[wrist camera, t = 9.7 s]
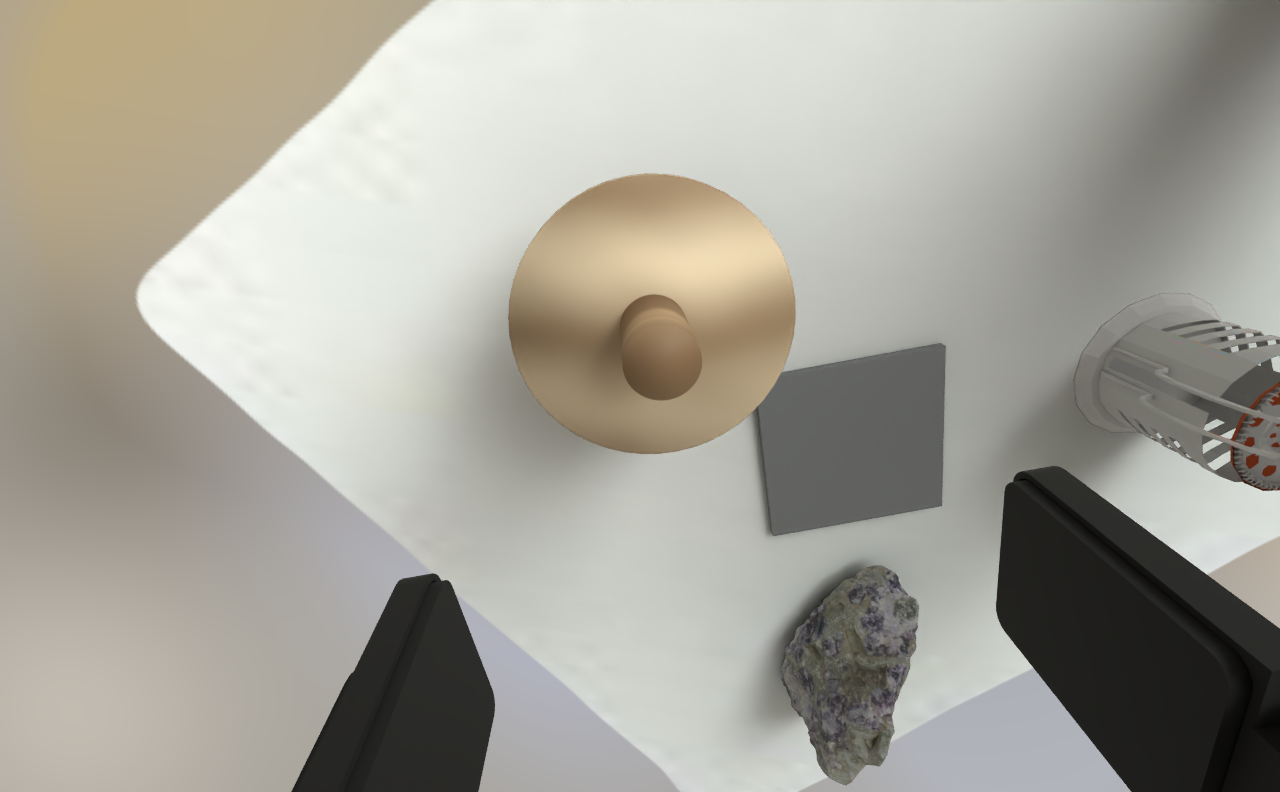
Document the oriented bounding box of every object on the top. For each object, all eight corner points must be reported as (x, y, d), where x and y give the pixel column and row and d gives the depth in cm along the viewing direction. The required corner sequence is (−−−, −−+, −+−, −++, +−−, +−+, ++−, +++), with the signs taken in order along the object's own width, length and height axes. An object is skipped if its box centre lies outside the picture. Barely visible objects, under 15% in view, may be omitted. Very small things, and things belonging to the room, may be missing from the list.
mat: (753, 377, 38) (755, 381, 38) (940, 343, 38) (945, 346, 38) (770, 531, 43) (773, 536, 43) (937, 501, 43) (941, 506, 42)
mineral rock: (873, 541, 44) (944, 648, 35) (945, 624, 48) (1026, 740, 38) (734, 635, 47) (765, 756, 38) (811, 706, 50) (857, 833, 41)
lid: (478, 205, 24) (442, 222, 19) (774, 146, 24) (821, 148, 19) (549, 462, 29) (537, 533, 24) (797, 416, 29) (841, 478, 23)
